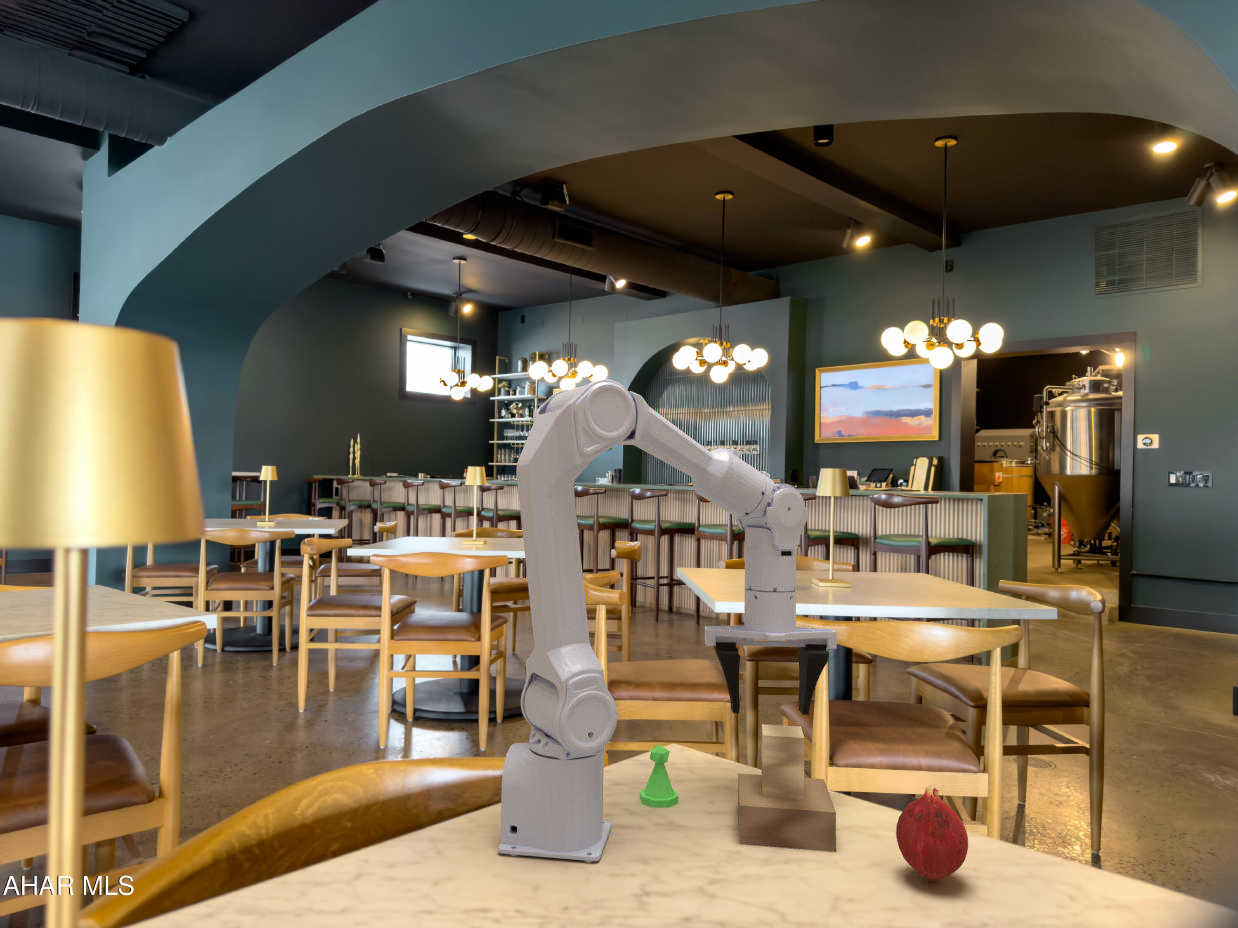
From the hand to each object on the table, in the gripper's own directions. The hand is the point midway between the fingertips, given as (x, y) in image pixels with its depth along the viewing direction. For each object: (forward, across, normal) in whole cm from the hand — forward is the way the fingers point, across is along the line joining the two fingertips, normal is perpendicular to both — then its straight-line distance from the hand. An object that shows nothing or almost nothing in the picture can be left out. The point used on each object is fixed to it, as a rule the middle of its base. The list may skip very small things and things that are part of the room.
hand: (769, 711), depth 85 cm
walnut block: (+10, 0, -8) cm, 13 cm away
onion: (+10, +11, -18) cm, 23 cm away
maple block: (+6, 0, -8) cm, 10 cm away
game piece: (+10, -12, -2) cm, 16 cm away
